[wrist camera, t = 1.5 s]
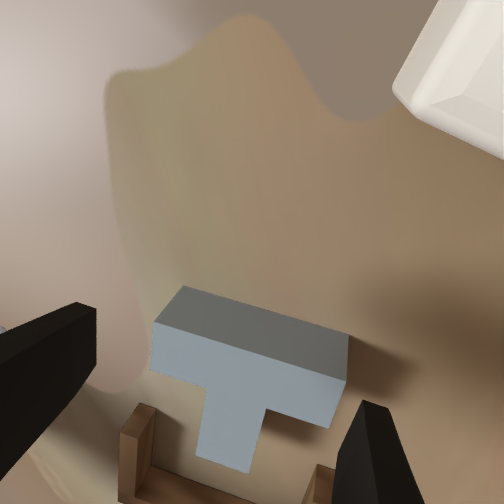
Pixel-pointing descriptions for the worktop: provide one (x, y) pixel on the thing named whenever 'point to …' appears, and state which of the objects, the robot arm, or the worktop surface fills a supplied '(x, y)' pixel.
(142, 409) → the walnut cradle
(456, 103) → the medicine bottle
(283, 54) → the worktop surface
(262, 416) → the t block
